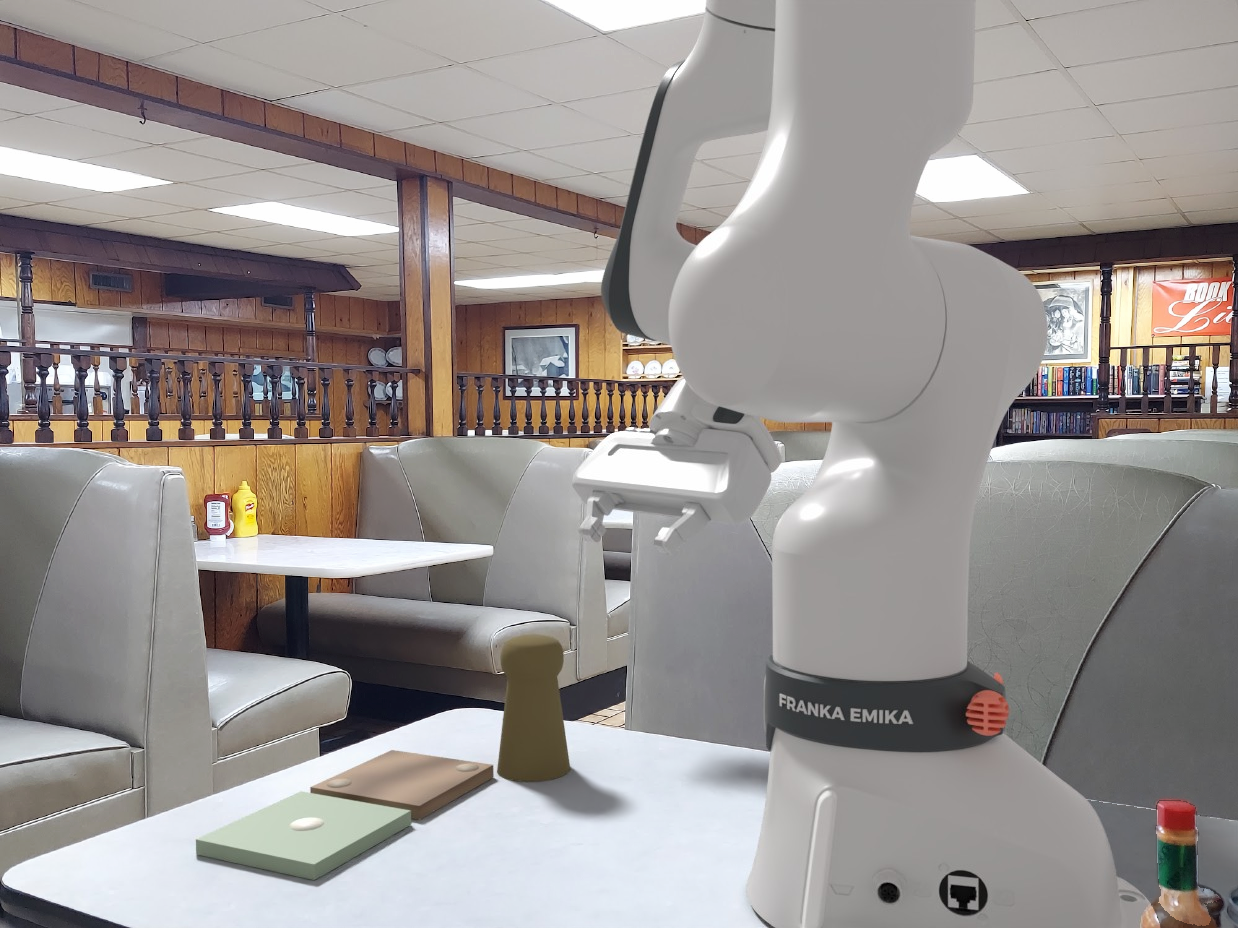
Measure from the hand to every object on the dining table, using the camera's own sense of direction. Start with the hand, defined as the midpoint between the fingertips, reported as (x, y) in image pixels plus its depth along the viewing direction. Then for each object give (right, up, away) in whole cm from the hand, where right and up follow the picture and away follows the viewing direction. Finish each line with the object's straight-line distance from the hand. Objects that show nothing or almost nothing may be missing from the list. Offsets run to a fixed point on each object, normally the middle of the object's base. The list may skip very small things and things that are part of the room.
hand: (623, 543), depth 93 cm
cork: (-7, -18, -7) cm, 21 cm away
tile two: (-17, -18, -12) cm, 28 cm away
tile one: (-22, -19, -22) cm, 36 cm away
